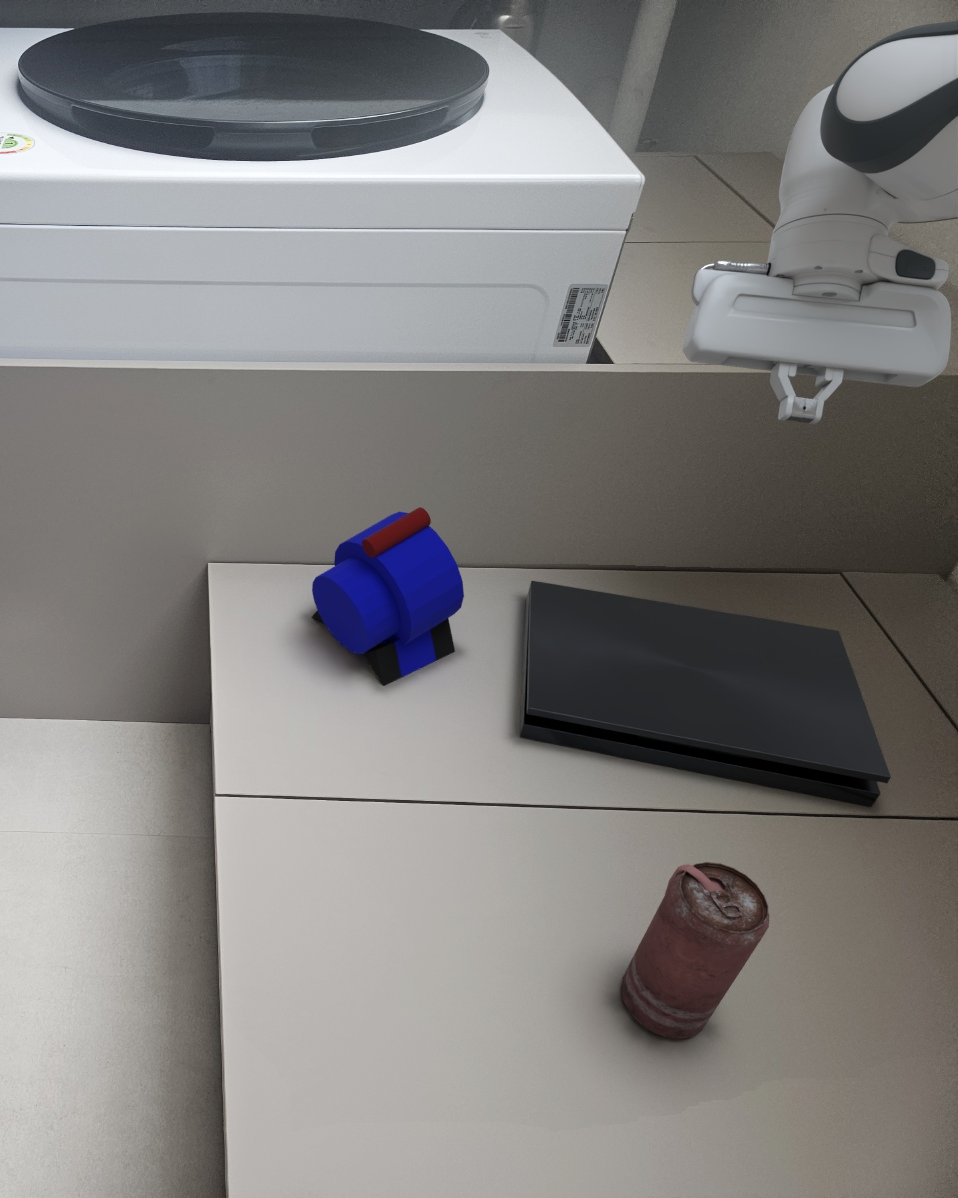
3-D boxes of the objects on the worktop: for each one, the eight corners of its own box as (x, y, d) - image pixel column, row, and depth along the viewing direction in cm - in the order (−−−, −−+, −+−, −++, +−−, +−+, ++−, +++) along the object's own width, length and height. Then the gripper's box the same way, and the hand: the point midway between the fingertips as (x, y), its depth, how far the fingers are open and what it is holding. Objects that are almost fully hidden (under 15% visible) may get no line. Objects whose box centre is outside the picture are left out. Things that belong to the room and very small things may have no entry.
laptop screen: (886, 784, 90) (891, 777, 89) (526, 715, 96) (528, 708, 96) (835, 637, 106) (839, 630, 105) (529, 586, 112) (531, 580, 112)
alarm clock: (459, 649, 108) (486, 533, 98) (367, 693, 103) (386, 576, 93) (382, 585, 116) (400, 472, 106) (293, 624, 111) (304, 509, 101)
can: (638, 948, 81) (695, 839, 72) (719, 1003, 78) (789, 895, 69) (600, 1000, 78) (655, 892, 69) (683, 1059, 75) (751, 953, 66)
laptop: (872, 807, 91) (881, 793, 90) (519, 737, 98) (523, 723, 97) (828, 650, 107) (836, 636, 106) (525, 599, 114) (529, 586, 112)
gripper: (707, 242, 91) (681, 394, 90) (971, 265, 86) (947, 426, 86) (686, 271, 97) (663, 414, 96) (932, 294, 93) (909, 445, 92)
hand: (798, 420), depth 91 cm, fingers closed
